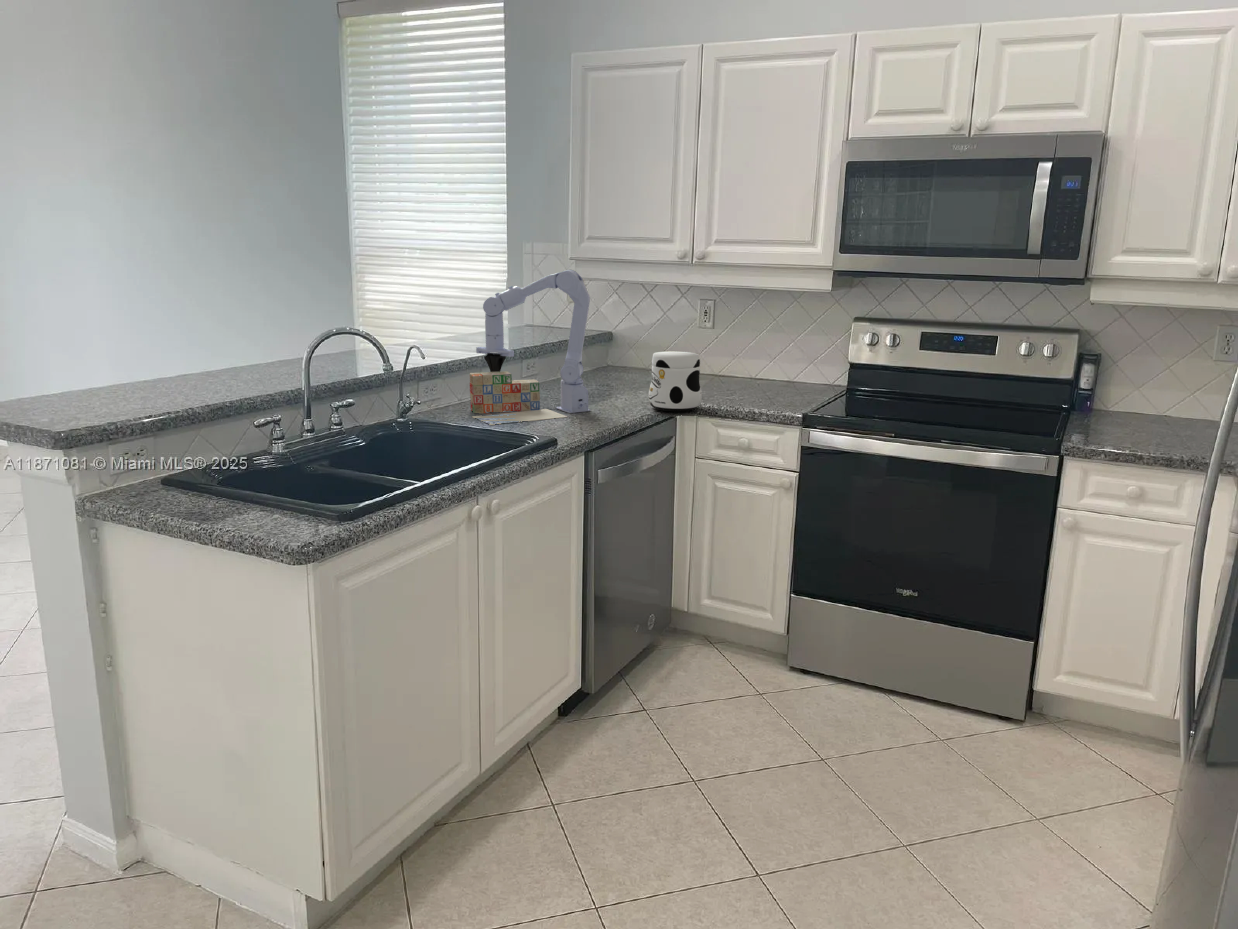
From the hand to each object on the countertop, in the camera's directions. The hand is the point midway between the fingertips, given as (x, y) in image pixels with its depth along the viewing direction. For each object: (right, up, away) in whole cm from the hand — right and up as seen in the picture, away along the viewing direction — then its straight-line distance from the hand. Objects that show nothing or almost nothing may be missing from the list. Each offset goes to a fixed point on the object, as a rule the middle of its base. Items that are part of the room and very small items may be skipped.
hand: (495, 377), depth 291 cm
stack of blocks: (+3, -11, -1) cm, 12 cm away
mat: (+9, -13, -12) cm, 20 cm away
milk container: (+58, -10, +4) cm, 59 cm away
